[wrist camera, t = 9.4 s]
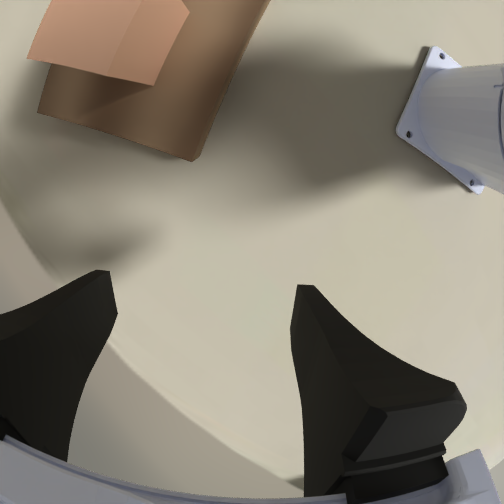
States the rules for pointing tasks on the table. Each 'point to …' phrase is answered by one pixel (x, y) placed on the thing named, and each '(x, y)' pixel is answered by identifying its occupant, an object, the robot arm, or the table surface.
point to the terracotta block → (110, 36)
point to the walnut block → (163, 83)
